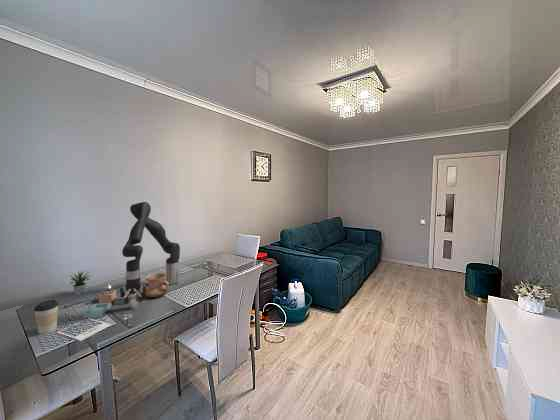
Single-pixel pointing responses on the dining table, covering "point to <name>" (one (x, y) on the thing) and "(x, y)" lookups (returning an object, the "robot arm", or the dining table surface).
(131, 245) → the robot arm
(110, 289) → the cell grey
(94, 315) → the trough
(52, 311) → the coffee cup
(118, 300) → the checker cradle
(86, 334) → the photo frame
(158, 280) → the ceramic jug
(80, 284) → the house plant
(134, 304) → the cell green
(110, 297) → the cup
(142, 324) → the dining table surface
